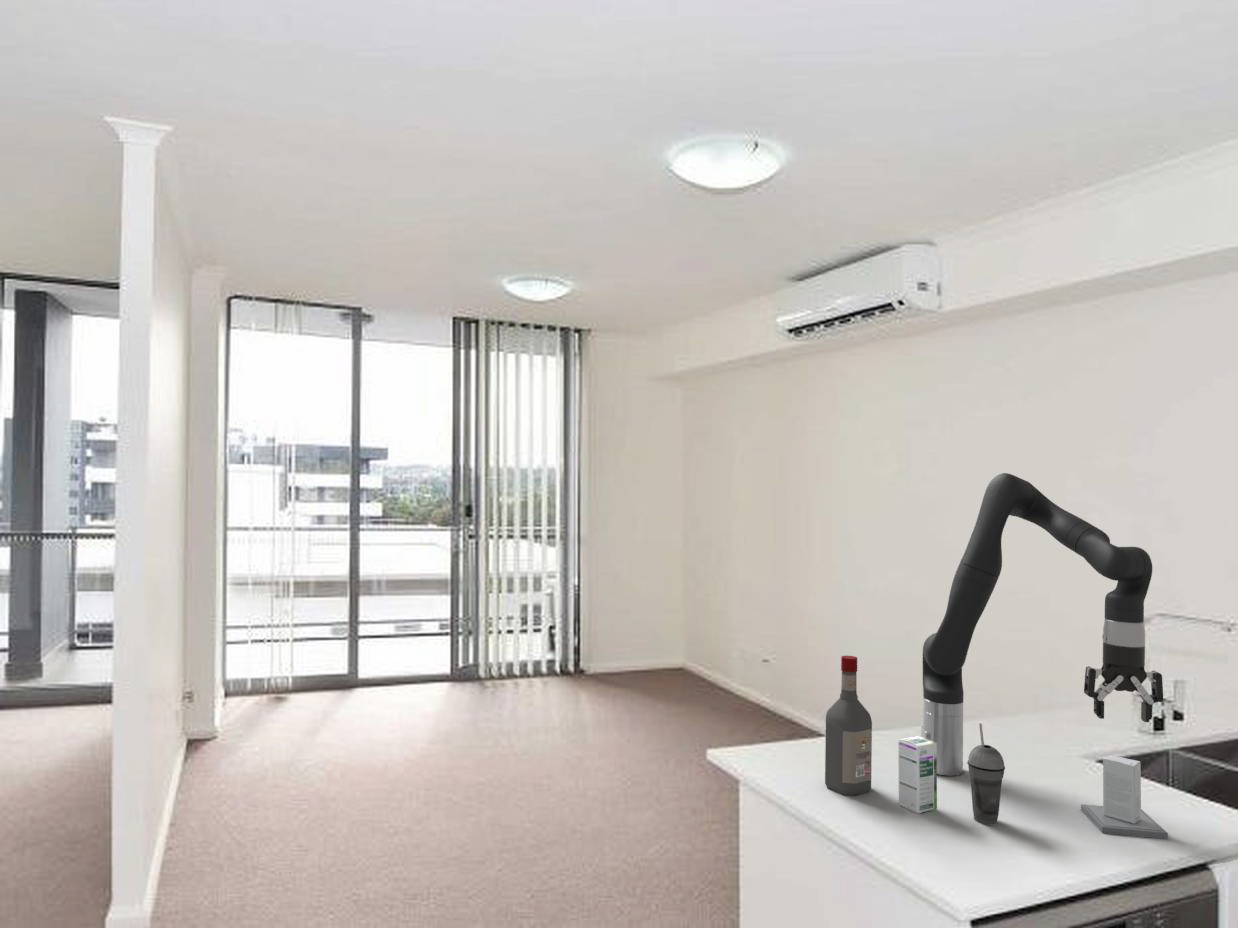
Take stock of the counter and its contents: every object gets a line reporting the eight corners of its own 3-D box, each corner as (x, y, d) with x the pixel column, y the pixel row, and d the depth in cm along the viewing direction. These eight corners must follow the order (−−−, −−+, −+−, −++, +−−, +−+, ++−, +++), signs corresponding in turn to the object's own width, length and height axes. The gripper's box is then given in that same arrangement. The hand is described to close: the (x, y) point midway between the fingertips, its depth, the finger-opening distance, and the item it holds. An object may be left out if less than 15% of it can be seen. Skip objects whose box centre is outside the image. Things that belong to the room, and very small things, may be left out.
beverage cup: (1002, 830, 166) (1003, 731, 166) (963, 821, 170) (964, 725, 170) (1006, 818, 172) (1007, 723, 173) (969, 810, 176) (970, 717, 176)
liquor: (877, 790, 187) (878, 659, 187) (848, 798, 182) (850, 663, 182) (846, 777, 194) (848, 651, 195) (819, 784, 190) (820, 655, 190)
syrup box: (918, 814, 174) (919, 745, 174) (897, 804, 179) (898, 737, 179) (937, 809, 176) (938, 742, 177) (916, 799, 182) (916, 734, 182)
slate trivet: (1102, 832, 166) (1102, 826, 166) (1080, 809, 178) (1080, 803, 178) (1167, 838, 164) (1167, 832, 164) (1141, 814, 175) (1141, 808, 175)
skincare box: (1141, 819, 170) (1141, 761, 170) (1134, 824, 167) (1135, 765, 167) (1109, 809, 174) (1109, 753, 175) (1102, 815, 172) (1102, 757, 172)
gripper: (1093, 643, 169) (1092, 721, 169) (1169, 647, 166) (1168, 727, 166) (1080, 636, 176) (1079, 711, 176) (1153, 640, 173) (1152, 717, 173)
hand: (1122, 719), depth 171 cm, fingers open, 8 cm apart
